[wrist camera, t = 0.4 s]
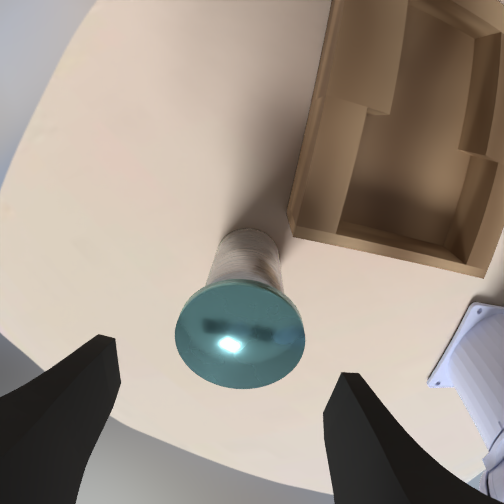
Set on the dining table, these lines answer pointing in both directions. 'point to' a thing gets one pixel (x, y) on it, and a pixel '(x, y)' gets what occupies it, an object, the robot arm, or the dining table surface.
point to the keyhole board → (407, 133)
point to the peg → (241, 317)
